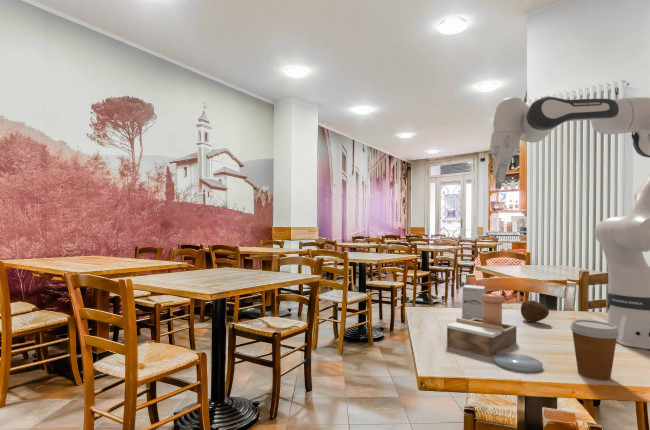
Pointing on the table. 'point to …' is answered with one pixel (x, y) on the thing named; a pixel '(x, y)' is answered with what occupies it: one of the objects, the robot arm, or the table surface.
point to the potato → (533, 311)
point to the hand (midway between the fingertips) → (499, 185)
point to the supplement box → (472, 302)
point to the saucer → (518, 362)
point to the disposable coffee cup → (594, 348)
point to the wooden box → (482, 340)
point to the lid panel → (476, 327)
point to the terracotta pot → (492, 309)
